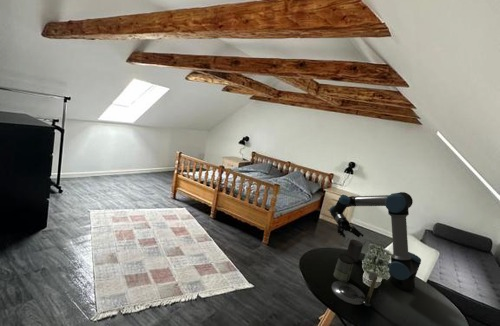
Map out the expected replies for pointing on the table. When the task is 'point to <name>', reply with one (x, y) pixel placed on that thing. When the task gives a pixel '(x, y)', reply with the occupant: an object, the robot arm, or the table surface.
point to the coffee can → (343, 267)
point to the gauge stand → (374, 278)
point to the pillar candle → (354, 249)
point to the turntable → (348, 292)
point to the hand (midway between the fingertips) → (356, 241)
